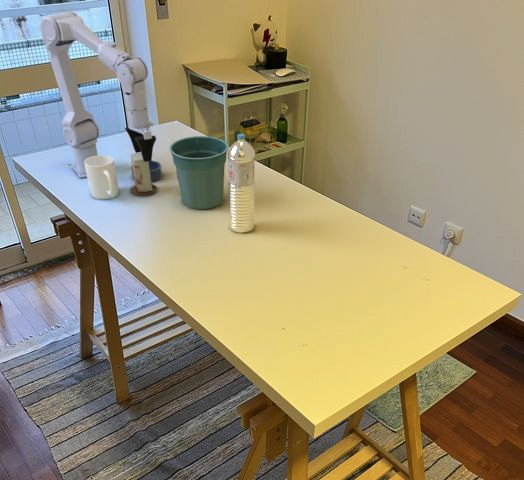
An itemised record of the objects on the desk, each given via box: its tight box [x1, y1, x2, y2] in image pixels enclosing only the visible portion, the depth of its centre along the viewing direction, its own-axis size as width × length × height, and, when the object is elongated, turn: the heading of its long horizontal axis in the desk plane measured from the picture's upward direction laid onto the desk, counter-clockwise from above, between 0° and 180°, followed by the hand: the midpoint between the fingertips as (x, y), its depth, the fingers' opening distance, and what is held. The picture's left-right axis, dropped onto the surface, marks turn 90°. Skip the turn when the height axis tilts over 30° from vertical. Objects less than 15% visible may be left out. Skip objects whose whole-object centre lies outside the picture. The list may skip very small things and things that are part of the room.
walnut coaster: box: [130, 183, 158, 197], centre depth 164 cm, size 8×8×1 cm
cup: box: [84, 154, 120, 200], centre depth 158 cm, size 8×12×10 cm
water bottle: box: [227, 133, 256, 234], centre depth 139 cm, size 7×7×25 cm
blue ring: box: [130, 159, 163, 183], centre depth 171 cm, size 9×9×4 cm
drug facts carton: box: [130, 152, 153, 193], centre depth 161 cm, size 5×4×10 cm
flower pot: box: [168, 135, 230, 210], centre depth 154 cm, size 16×16×16 cm
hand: (143, 156), depth 158 cm, fingers open, 7 cm apart
